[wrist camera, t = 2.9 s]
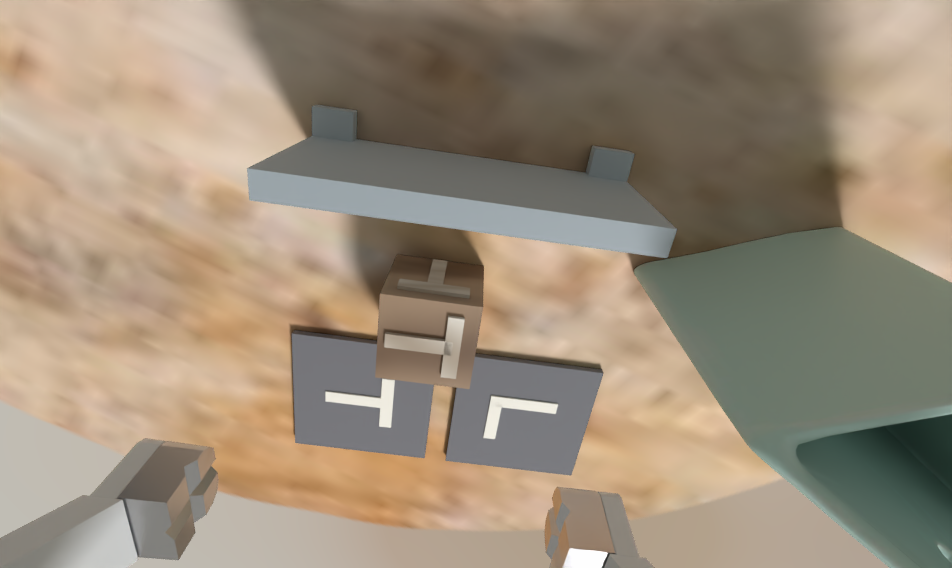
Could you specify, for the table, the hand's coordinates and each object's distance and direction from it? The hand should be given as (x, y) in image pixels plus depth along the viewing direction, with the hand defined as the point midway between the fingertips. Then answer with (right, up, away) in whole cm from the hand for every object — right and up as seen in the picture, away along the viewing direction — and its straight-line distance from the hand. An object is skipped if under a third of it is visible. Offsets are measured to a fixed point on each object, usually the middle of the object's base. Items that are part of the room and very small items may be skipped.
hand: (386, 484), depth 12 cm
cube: (0, +4, +17) cm, 18 cm away
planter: (+20, +5, +16) cm, 27 cm away
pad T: (-5, -3, +20) cm, 21 cm away
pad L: (+5, -4, +21) cm, 22 cm away
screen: (+2, +11, +14) cm, 18 cm away
